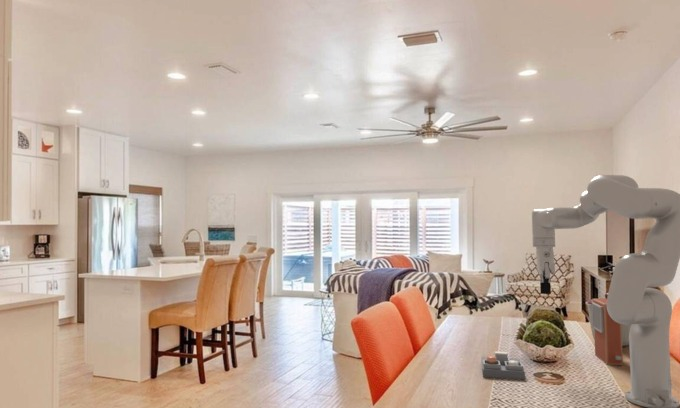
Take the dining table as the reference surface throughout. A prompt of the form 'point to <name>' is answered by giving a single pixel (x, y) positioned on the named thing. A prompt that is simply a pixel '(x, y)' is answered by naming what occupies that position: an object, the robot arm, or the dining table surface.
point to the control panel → (606, 334)
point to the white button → (513, 362)
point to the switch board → (503, 369)
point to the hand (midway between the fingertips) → (545, 293)
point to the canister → (624, 327)
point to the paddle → (501, 356)
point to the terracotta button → (491, 359)
